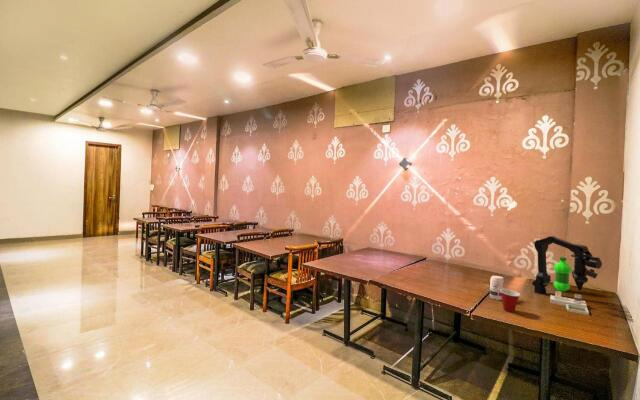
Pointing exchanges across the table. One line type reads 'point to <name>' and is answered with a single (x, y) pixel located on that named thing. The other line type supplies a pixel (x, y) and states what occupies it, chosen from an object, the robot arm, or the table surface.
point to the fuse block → (566, 301)
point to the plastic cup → (509, 299)
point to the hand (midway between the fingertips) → (578, 288)
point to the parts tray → (577, 308)
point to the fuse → (557, 295)
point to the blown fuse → (577, 298)
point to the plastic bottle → (562, 275)
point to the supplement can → (496, 287)
